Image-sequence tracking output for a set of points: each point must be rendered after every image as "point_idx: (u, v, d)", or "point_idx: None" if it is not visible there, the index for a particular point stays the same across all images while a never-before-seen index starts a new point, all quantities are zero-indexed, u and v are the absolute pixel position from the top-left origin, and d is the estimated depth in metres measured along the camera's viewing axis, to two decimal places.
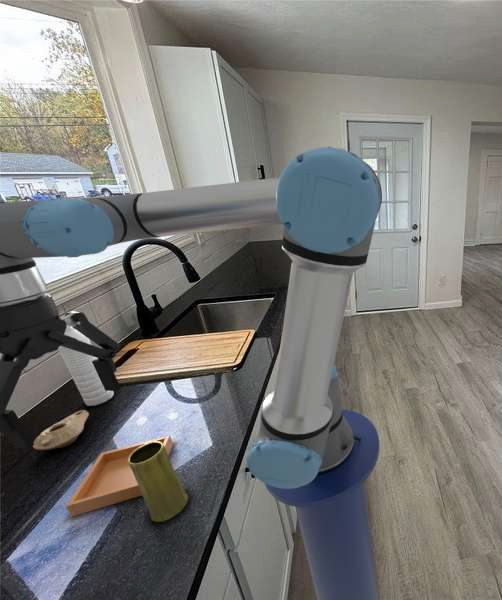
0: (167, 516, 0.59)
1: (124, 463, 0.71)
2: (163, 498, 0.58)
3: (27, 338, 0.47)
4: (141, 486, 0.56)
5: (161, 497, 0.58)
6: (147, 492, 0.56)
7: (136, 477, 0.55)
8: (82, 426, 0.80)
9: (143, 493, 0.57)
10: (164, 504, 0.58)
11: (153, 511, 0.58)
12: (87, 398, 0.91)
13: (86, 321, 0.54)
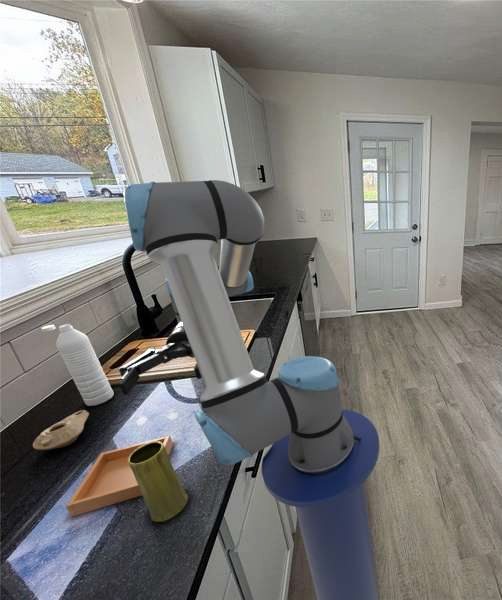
0: (167, 516, 0.59)
1: (124, 463, 0.71)
2: (163, 498, 0.58)
3: None
4: (141, 486, 0.56)
5: (161, 497, 0.58)
6: (147, 492, 0.56)
7: (136, 477, 0.55)
8: (82, 426, 0.80)
9: (143, 493, 0.57)
10: (164, 504, 0.58)
11: (153, 511, 0.58)
12: (87, 398, 0.91)
13: None
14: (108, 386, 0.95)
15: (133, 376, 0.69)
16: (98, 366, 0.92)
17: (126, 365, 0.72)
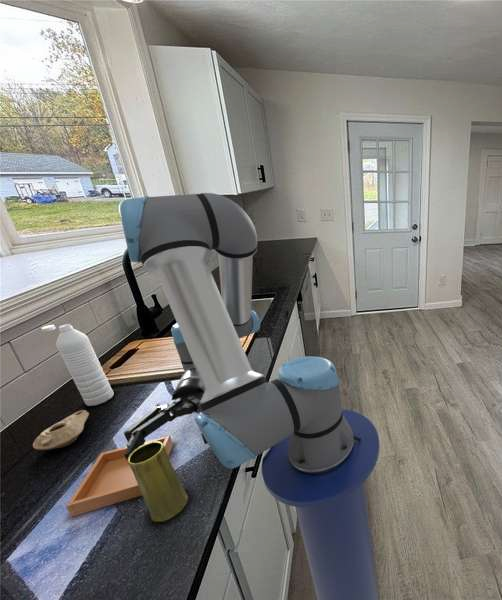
0: (167, 516, 0.59)
1: (124, 463, 0.71)
2: (163, 498, 0.58)
3: None
4: (141, 486, 0.56)
5: (161, 497, 0.58)
6: (147, 492, 0.56)
7: (136, 477, 0.55)
8: (82, 426, 0.80)
9: (143, 493, 0.57)
10: (164, 504, 0.58)
11: (153, 511, 0.58)
12: (87, 398, 0.91)
13: None
14: (108, 386, 0.95)
15: (139, 442, 0.67)
16: (98, 366, 0.92)
17: (131, 428, 0.69)
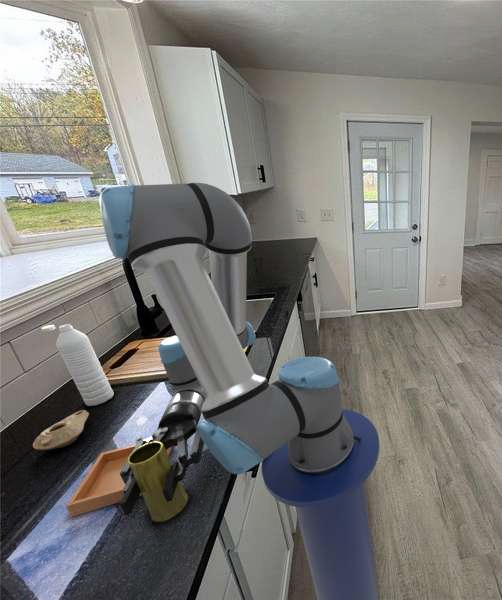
0: (167, 516, 0.59)
1: (124, 463, 0.71)
2: (163, 498, 0.58)
3: None
4: (141, 486, 0.56)
5: (161, 497, 0.58)
6: (147, 492, 0.56)
7: (136, 477, 0.55)
8: (82, 426, 0.80)
9: (143, 493, 0.57)
10: (164, 504, 0.58)
11: (153, 511, 0.58)
12: (87, 398, 0.91)
13: None
14: (108, 386, 0.95)
15: (137, 485, 0.57)
16: (98, 366, 0.92)
17: (126, 467, 0.60)
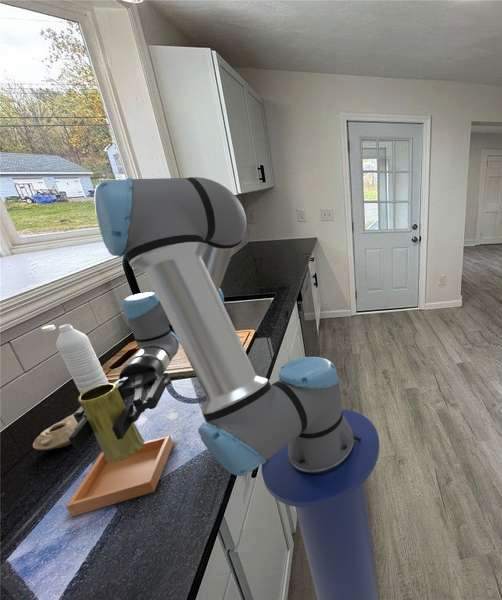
0: (121, 457, 0.60)
1: (124, 463, 0.71)
2: (115, 438, 0.59)
3: None
4: (93, 425, 0.57)
5: (114, 437, 0.58)
6: (98, 430, 0.57)
7: (87, 415, 0.56)
8: None
9: (95, 432, 0.58)
10: (117, 445, 0.59)
11: (106, 451, 0.59)
12: None
13: (161, 377, 0.70)
14: None
15: (89, 424, 0.58)
16: (98, 366, 0.92)
17: (81, 409, 0.61)
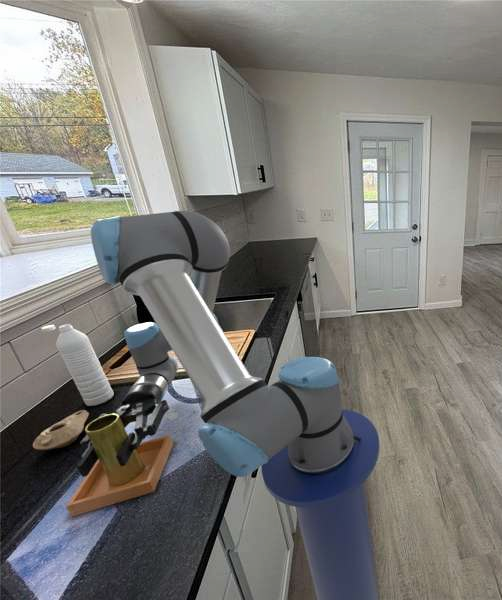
0: (123, 481, 0.66)
1: None
2: (118, 464, 0.65)
3: None
4: (98, 452, 0.63)
5: (117, 463, 0.65)
6: (103, 457, 0.63)
7: (93, 444, 0.62)
8: (82, 426, 0.80)
9: (100, 459, 0.64)
10: (120, 469, 0.65)
11: (110, 476, 0.65)
12: (87, 398, 0.91)
13: (160, 405, 0.76)
14: (108, 386, 0.95)
15: (95, 452, 0.64)
16: (98, 366, 0.92)
17: (87, 437, 0.67)
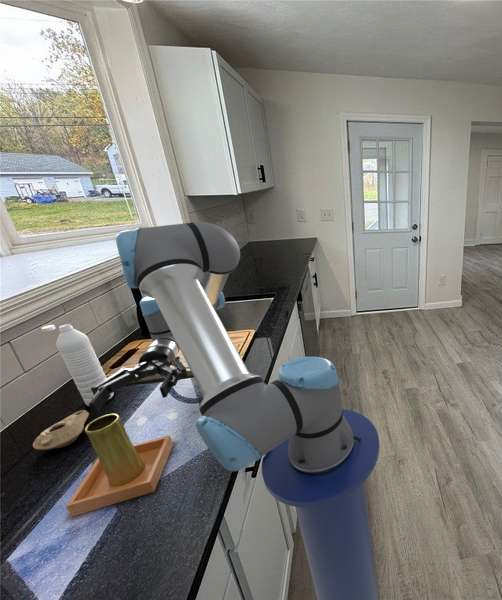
0: (123, 481, 0.66)
1: None
2: (118, 464, 0.65)
3: None
4: (98, 452, 0.63)
5: (117, 463, 0.65)
6: (103, 457, 0.63)
7: (93, 444, 0.62)
8: (82, 426, 0.80)
9: (100, 459, 0.64)
10: (120, 469, 0.65)
11: (110, 476, 0.65)
12: (87, 398, 0.91)
13: (177, 359, 0.88)
14: None
15: (103, 395, 0.75)
16: (98, 366, 0.92)
17: (98, 384, 0.78)
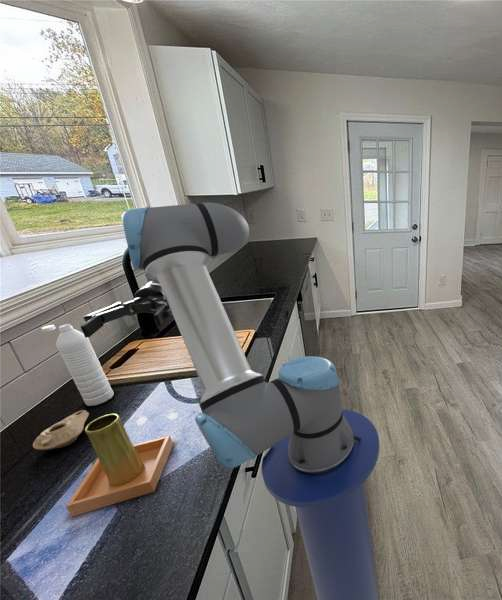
0: (123, 481, 0.66)
1: None
2: (118, 464, 0.65)
3: None
4: (98, 452, 0.63)
5: (117, 463, 0.65)
6: (103, 457, 0.63)
7: (93, 444, 0.62)
8: (82, 426, 0.80)
9: (100, 459, 0.64)
10: (120, 469, 0.65)
11: (110, 476, 0.65)
12: (87, 398, 0.91)
13: None
14: (108, 386, 0.95)
15: (96, 322, 0.73)
16: (98, 366, 0.92)
17: (91, 314, 0.75)
